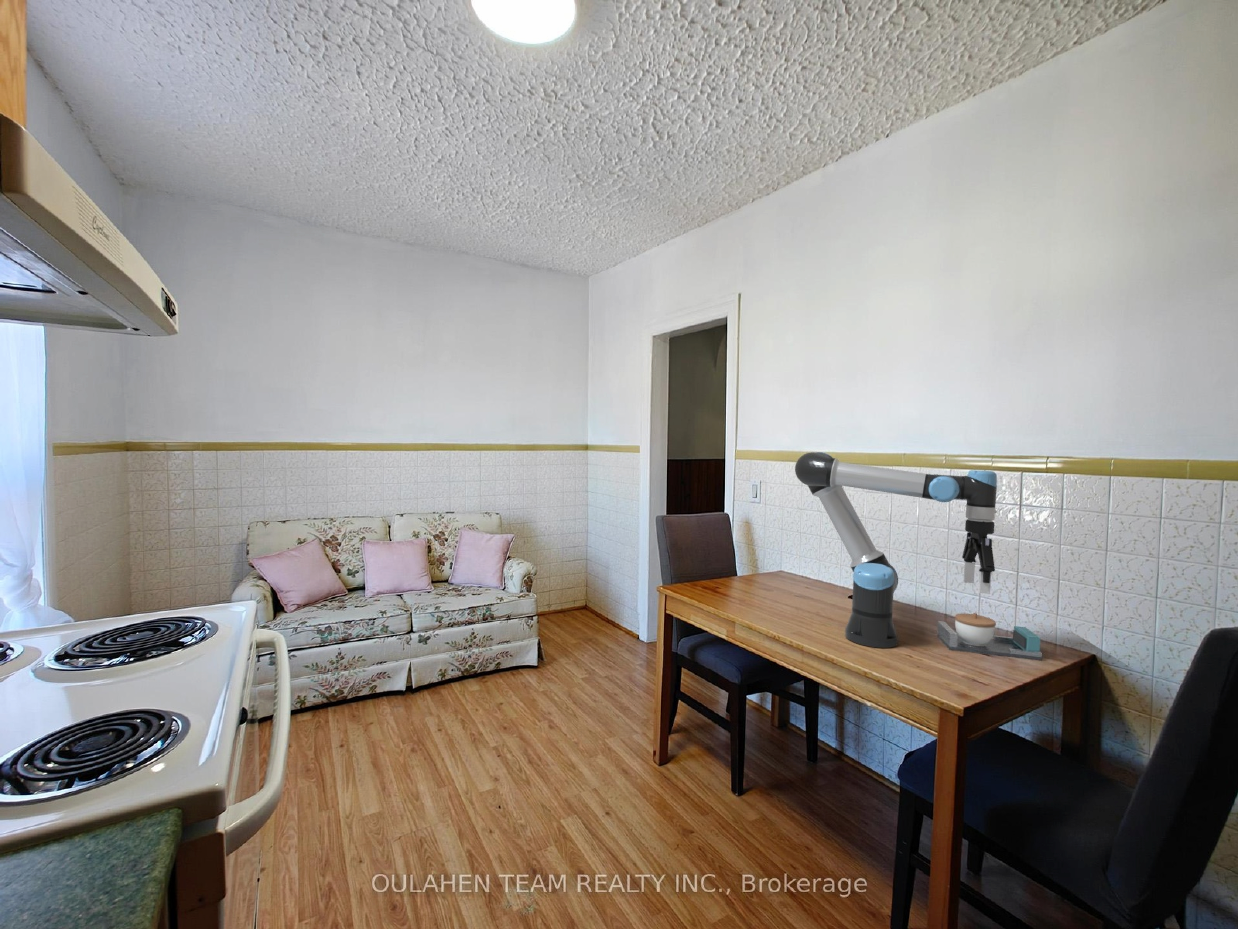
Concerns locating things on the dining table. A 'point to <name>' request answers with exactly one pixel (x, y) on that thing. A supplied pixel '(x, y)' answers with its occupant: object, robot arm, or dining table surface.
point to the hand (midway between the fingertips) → (976, 587)
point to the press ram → (1026, 639)
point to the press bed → (994, 647)
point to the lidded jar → (974, 628)
